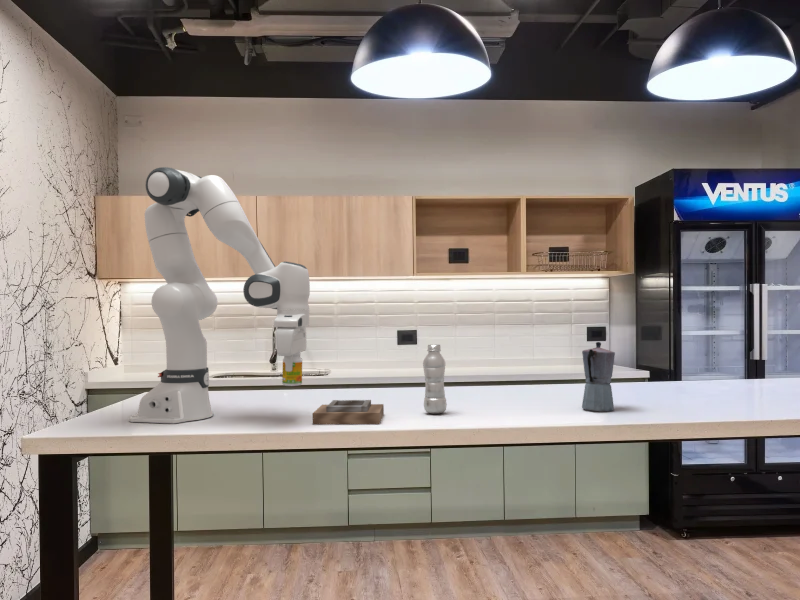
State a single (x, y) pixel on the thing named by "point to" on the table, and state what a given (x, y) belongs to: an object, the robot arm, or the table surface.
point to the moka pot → (598, 379)
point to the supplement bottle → (293, 372)
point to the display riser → (349, 412)
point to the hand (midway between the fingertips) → (292, 369)
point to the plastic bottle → (434, 381)
